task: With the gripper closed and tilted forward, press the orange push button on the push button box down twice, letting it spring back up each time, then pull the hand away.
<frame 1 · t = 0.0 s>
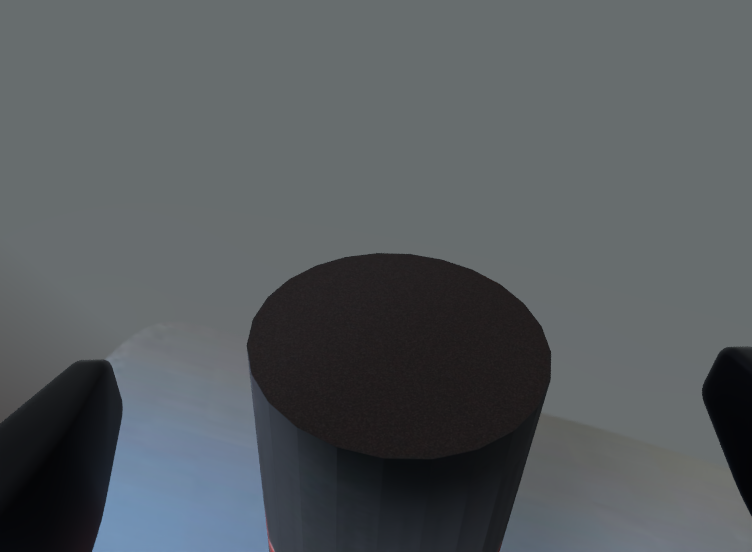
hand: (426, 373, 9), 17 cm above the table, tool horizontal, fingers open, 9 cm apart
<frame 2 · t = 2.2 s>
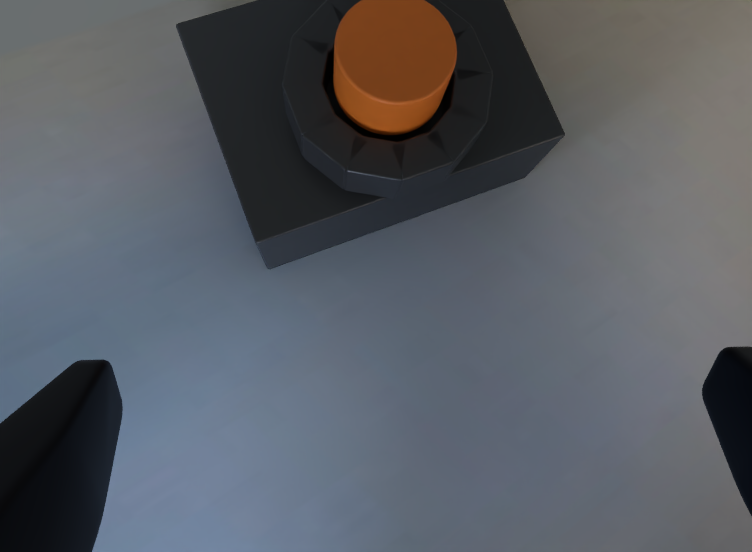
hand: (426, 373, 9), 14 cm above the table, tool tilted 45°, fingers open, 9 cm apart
orange push button: (392, 66, 17), point 7 cm above the table, slide at 0.1 cm
push button box: (364, 132, 24), on the table
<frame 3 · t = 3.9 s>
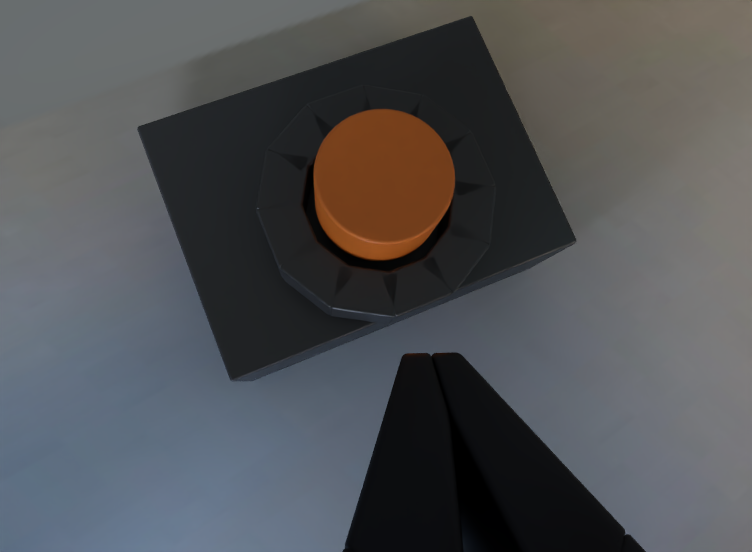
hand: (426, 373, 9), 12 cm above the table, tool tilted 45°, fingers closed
orange push button: (381, 188, 15), point 7 cm above the table, slide at 0.1 cm
push button box: (353, 221, 22), on the table
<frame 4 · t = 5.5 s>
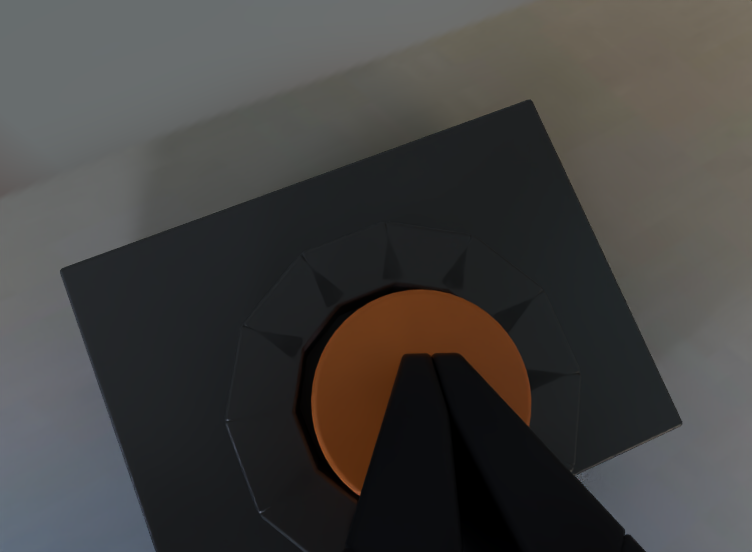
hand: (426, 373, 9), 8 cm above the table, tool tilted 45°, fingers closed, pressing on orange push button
orange push button: (413, 397, 10), point 7 cm above the table, slide at 0.0 cm, touching gripper
push button box: (365, 355, 17), on the table
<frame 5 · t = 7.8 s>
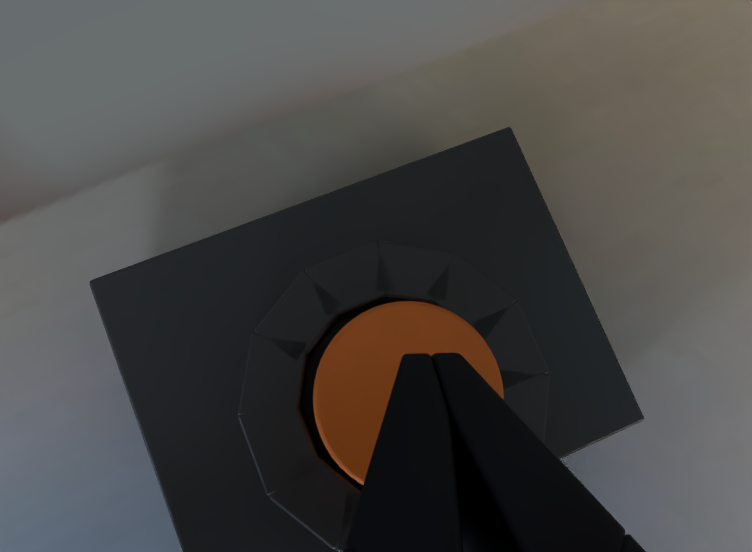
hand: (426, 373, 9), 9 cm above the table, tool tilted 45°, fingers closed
orange push button: (402, 394, 12), point 7 cm above the table, slide at 0.1 cm
push button box: (361, 357, 18), on the table
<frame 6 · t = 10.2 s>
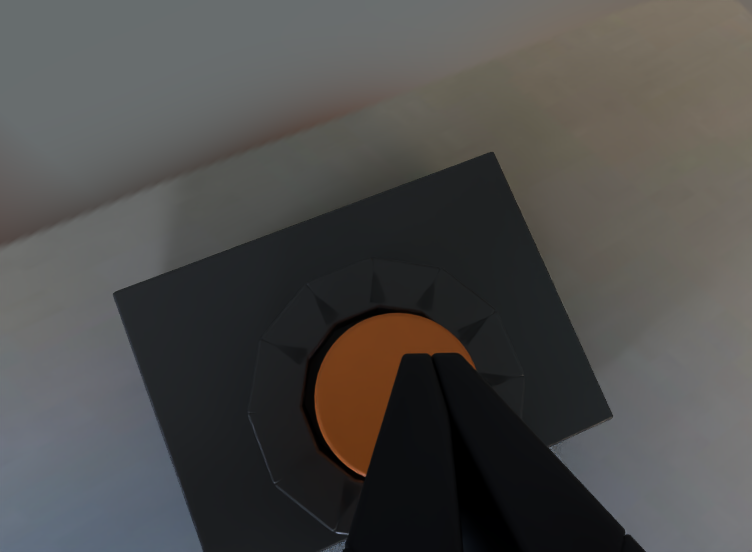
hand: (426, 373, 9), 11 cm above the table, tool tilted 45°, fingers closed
orange push button: (393, 395, 13), point 7 cm above the table, slide at 0.1 cm
push button box: (358, 360, 20), on the table
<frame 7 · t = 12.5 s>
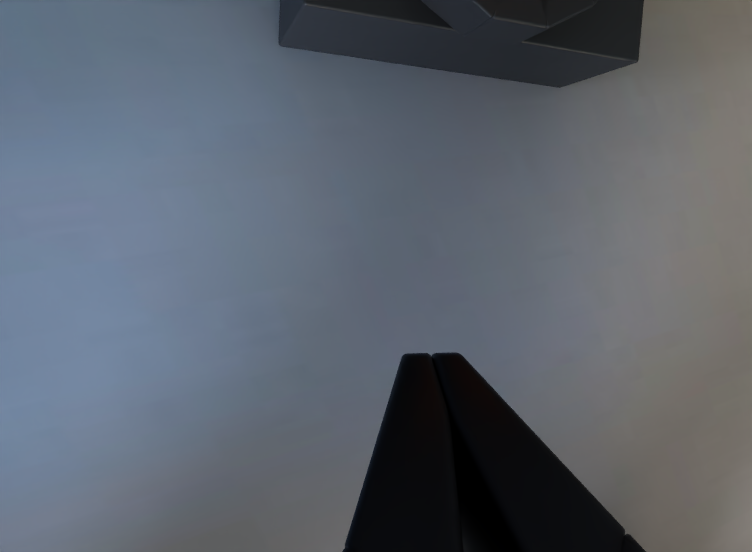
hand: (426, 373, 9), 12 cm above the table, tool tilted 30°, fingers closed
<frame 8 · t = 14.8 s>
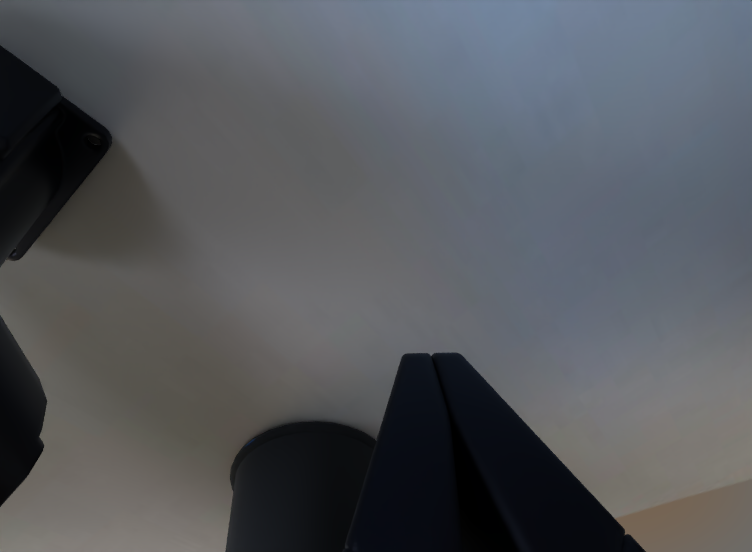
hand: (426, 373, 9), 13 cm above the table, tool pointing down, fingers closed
aerosol can: (312, 470, 31), on the table
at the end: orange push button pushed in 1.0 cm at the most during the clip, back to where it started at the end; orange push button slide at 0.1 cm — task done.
